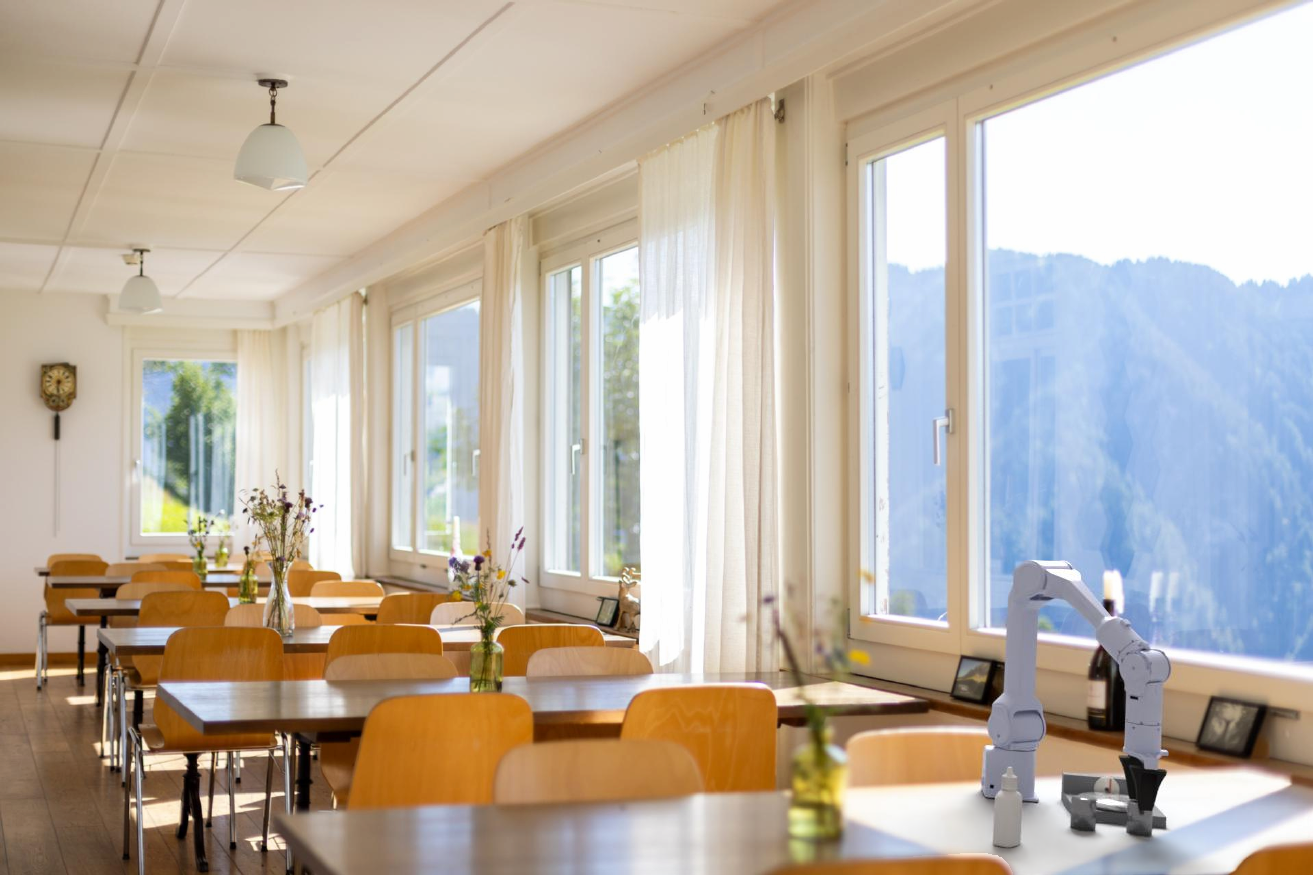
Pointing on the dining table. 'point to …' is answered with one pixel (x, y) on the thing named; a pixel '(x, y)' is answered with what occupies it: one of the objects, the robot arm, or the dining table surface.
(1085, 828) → the cylinder
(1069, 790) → the scale
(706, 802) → the dining table surface
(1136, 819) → the cylinder
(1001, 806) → the eye dropper bottle
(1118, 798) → the pan
